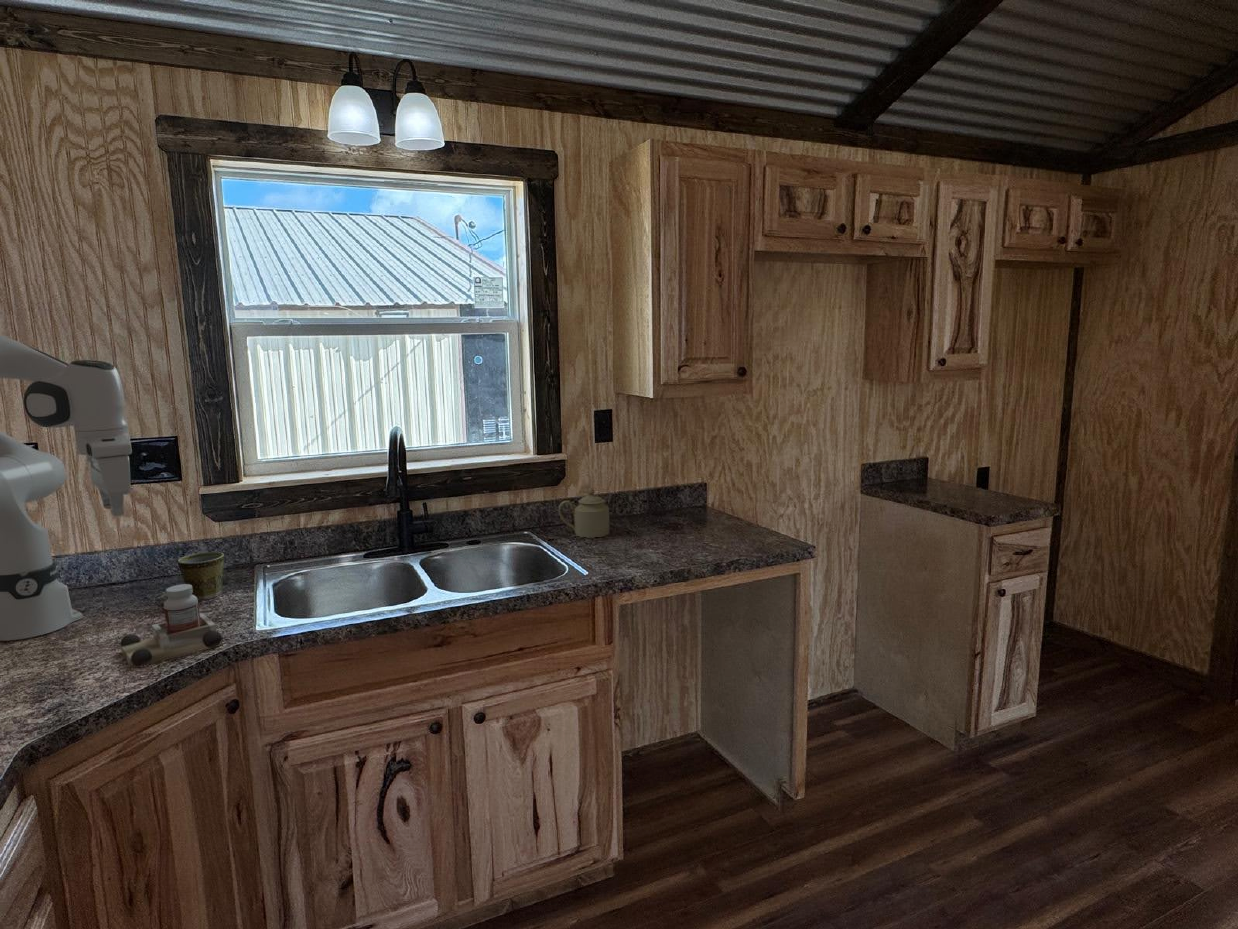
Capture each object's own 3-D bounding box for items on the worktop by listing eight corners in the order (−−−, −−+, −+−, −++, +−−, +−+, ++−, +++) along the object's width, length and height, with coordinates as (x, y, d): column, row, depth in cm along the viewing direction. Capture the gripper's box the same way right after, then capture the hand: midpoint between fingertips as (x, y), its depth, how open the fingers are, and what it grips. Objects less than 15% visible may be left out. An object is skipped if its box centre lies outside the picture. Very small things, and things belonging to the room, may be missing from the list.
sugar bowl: (571, 542, 229) (570, 493, 227) (558, 534, 239) (556, 487, 236) (615, 535, 236) (614, 488, 233) (600, 527, 245) (599, 482, 243)
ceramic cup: (234, 594, 188) (230, 556, 186) (191, 606, 180) (186, 565, 179) (214, 584, 196) (210, 547, 195) (172, 594, 189) (167, 556, 187)
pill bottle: (176, 633, 159) (170, 583, 157) (207, 632, 160) (201, 582, 158) (162, 645, 153) (155, 593, 151) (194, 643, 153) (187, 591, 152)
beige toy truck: (121, 652, 154) (118, 631, 153) (207, 630, 164) (205, 611, 164) (132, 669, 146) (129, 647, 145) (222, 645, 156) (220, 624, 156)
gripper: (76, 440, 154) (86, 506, 156) (93, 449, 139) (103, 522, 141) (113, 437, 158) (122, 501, 160) (133, 445, 143) (142, 516, 145)
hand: (113, 511), depth 150 cm, fingers open, 8 cm apart
